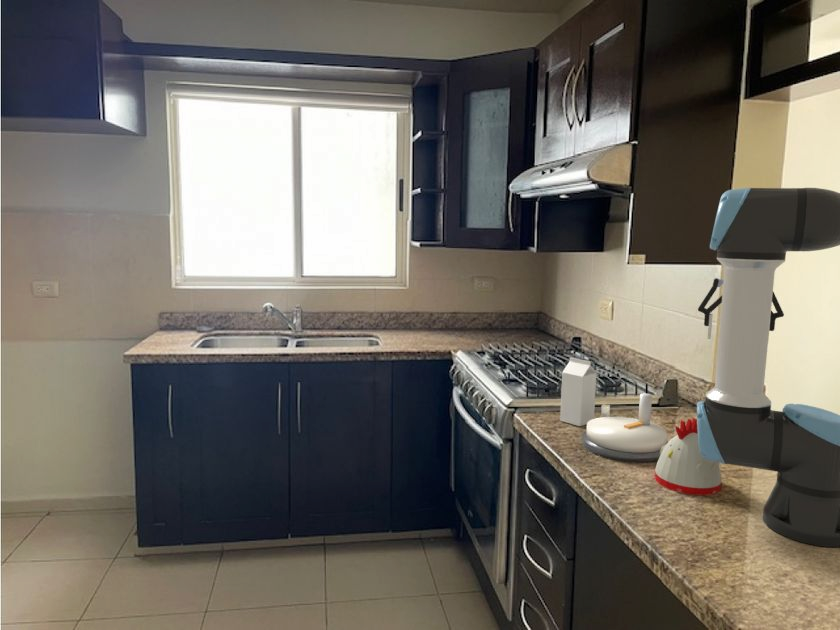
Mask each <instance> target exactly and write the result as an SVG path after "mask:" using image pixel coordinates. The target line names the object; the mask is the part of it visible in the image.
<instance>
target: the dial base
mask: <svg viewBox="0 0 840 630" xmlns="http://www.w3.org/2000/svg"><path fill="white" fill-rule="evenodd" d="M610 407H611V405H610V404H605V403H602V405H601V408H600V409H601V412H600V417H610V411H611V409H610ZM586 431H587V430H585V431H584V432H583V433H582V437H581V445H582V444H583V445H582V447H583V446H584V447H585V448H586V449H587V450H586V449H585V448H584V447H583V448H584V449H585V450H586V451H588V450H589V451H591V452H593V453H595V454H594V455H596V454H597V455H596V456H598V455H600V456H599V457H601V456H603V457H602V458H604V457H606V458H605V459H608V458H610V459H609V460H612V459H613V461H617V460H618V461H617V462H623V461H624V463H632V462H634V464H646V463H647V464H649V463H656V462H658V460H659V457H660V450H659V451H655V452H648V453H632V452H623V451H617V450H612V449H608V448H604V447H601V446H599V445H596V444H594V443H592V442H591V441H590V440H588V438H587V437H586ZM668 442H669V441H668V440H666V444H667V443H668ZM589 451H588V452H589ZM591 452H590V453H591ZM593 453H592V454H593Z"/></svg>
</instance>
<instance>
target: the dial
mask: <svg viewBox="0 0 840 630" xmlns="http://www.w3.org/2000/svg"><path fill="white" fill-rule="evenodd" d="M652 399H653V394H651V393H644V392H643V393H640V394H639V403H638V404H639V405H638V418H632V417H625V416H609V417H601V416H600V417H596V418H595V417H594V419H592V420H590V421H588V422H587V424H586V430H585V431H586V437H587V438H588V440H590V441H591V442H592V443H594V444H596V445H599V446H601V447H604V448H608V449H612V450H617V451H623V452H632V453H648V452H655V451H659V450H660V449H661V447H662V446H663V445H666V440H667V437H668V432H667V430H666V429H665V428H664V427H662V426H660V425H658V424H656V423H653V422H651V415H652V401H653V400H652ZM667 441H668V440H667Z"/></svg>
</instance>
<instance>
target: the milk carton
mask: <svg viewBox="0 0 840 630" xmlns="http://www.w3.org/2000/svg"><path fill="white" fill-rule="evenodd" d="M591 364H592V363H591V360H586V359H585V360H584V359H581V358H575V357H569V362H568V363H567V364H566V366H565V367H564V369H563V371H562V372H561V376H562V377H561V391H560V392H561V394H560V397H561V398H560V412H559V415H560V416H559V420H560V421H561V422H563V423H567V424H570V425H574V426H577V427H583V426H585V425H586V426H587V422H588V421H590V420H592V419H595V407H596V405H595V404H596V389H597V388H596V386H597V371H596V370H595V369H594V368H593V366H592V365H591Z"/></svg>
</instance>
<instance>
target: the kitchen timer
mask: <svg viewBox="0 0 840 630" xmlns="http://www.w3.org/2000/svg"><path fill="white" fill-rule="evenodd" d="M679 425H680V426H677V425H675V431H676V435H675V436H673V437H672V438H671V439H670V440H669V441H668V443H667V444H666V445H663V446H662V447H661V449H660V457H659V460H658V461H657V463H656V466H655V469H654V479H655V481H656V482H657V483H658V484H659V485H660V486H662V487H664V488H666V489H667V490H670V491H674V492H677V493H682V494H685V495H686V494H687V495H692V496H693V495H694V496H709V495H714V494H718V493H719V492H720V491H721V489H722V473H721V468H720V462H716V461H711V460H707V459H705V458H704V457H703V456H702V455H701V453H700V450H699V442H698V428H697V418H695V417H693V418H692V419H690V418H688V419H687V420H686V422H685V420H682V419H681V420H680V424H679Z"/></svg>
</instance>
